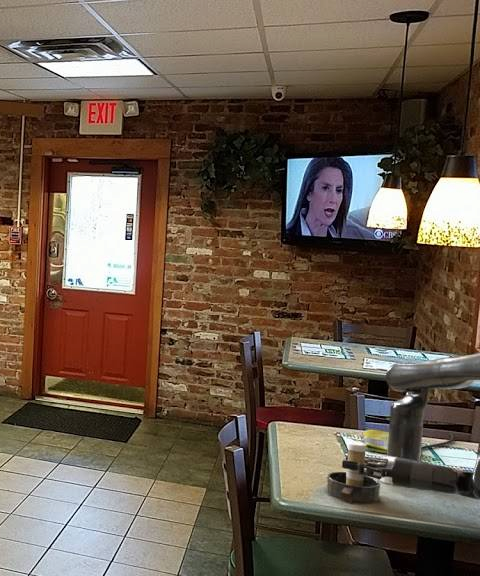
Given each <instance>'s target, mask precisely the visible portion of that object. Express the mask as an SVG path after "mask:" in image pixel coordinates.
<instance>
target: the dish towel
mask: <svg viewBox="0 0 480 576" xmlns="http://www.w3.org/2000/svg"><path fill="white" fill-rule="evenodd" d="M388 436H389V431H383V430H378V429H367V430H365V431H364V433H363V443H364V444H366V450H369V451H373V452H377V453H382V454H387V448H388Z"/></svg>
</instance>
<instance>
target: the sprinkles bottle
mask: <svg viewBox="0 0 480 576" xmlns="http://www.w3.org/2000/svg"><path fill="white" fill-rule="evenodd" d="M366 452H367V448H366V444H364V442H361V441H356V440H353V441H351V440H350V441H348V443H347V456H348V461H353V462H358V463H359V462H360V463H365V457H366ZM345 472H346V484H347V485H352V486H360V487H363V480H364V475H361V474H358V472H357V471H356V470H350V469H346V471H345Z"/></svg>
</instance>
